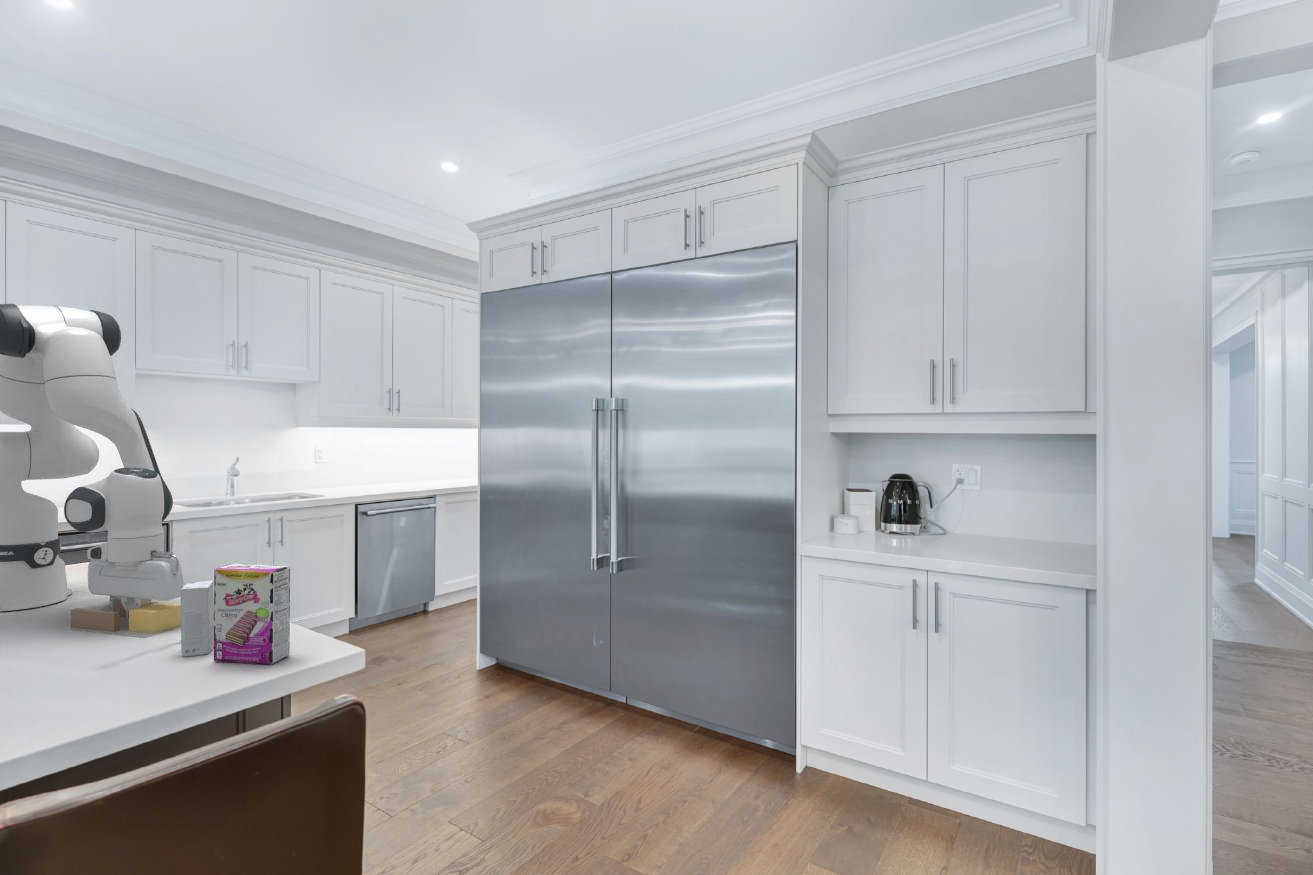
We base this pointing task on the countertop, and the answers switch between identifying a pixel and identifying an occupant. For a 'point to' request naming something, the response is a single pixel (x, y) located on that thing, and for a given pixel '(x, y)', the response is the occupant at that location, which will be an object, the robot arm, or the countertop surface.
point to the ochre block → (155, 617)
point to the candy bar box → (251, 613)
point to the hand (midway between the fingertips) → (136, 619)
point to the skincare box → (197, 618)
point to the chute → (107, 621)
